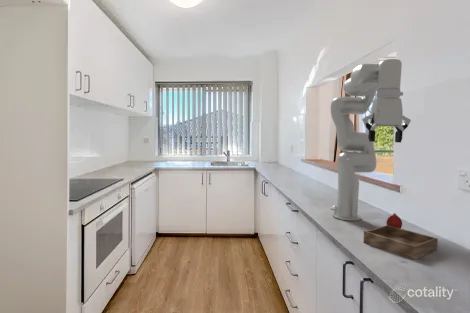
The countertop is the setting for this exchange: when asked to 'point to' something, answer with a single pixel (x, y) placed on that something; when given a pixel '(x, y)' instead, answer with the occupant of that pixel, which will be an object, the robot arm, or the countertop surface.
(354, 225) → the countertop surface
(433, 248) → the holder tray
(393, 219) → the onion
